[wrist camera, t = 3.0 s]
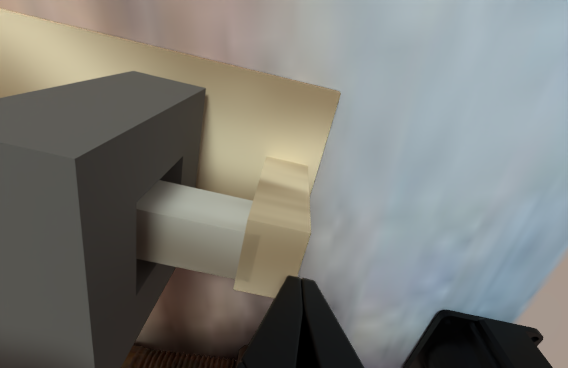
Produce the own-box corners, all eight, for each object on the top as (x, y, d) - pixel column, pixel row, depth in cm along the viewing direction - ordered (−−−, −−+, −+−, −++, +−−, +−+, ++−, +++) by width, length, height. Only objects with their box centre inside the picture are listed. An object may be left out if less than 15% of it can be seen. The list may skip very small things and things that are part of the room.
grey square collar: (190, 240, 16) (98, 408, 9) (133, 228, 16) (-7, 388, 9) (205, 88, 12) (74, 158, 5) (133, 70, 12) (-104, 119, 5)
